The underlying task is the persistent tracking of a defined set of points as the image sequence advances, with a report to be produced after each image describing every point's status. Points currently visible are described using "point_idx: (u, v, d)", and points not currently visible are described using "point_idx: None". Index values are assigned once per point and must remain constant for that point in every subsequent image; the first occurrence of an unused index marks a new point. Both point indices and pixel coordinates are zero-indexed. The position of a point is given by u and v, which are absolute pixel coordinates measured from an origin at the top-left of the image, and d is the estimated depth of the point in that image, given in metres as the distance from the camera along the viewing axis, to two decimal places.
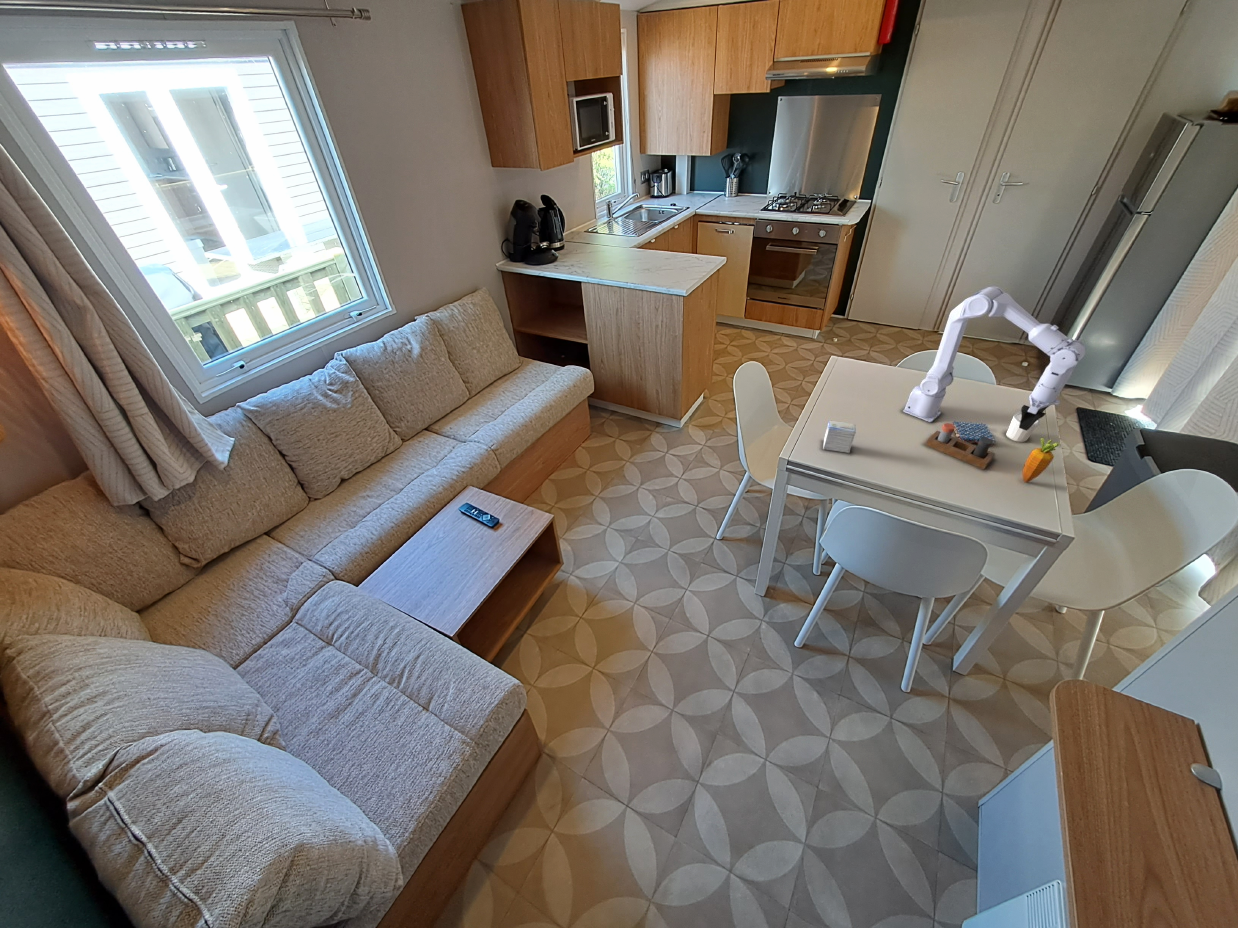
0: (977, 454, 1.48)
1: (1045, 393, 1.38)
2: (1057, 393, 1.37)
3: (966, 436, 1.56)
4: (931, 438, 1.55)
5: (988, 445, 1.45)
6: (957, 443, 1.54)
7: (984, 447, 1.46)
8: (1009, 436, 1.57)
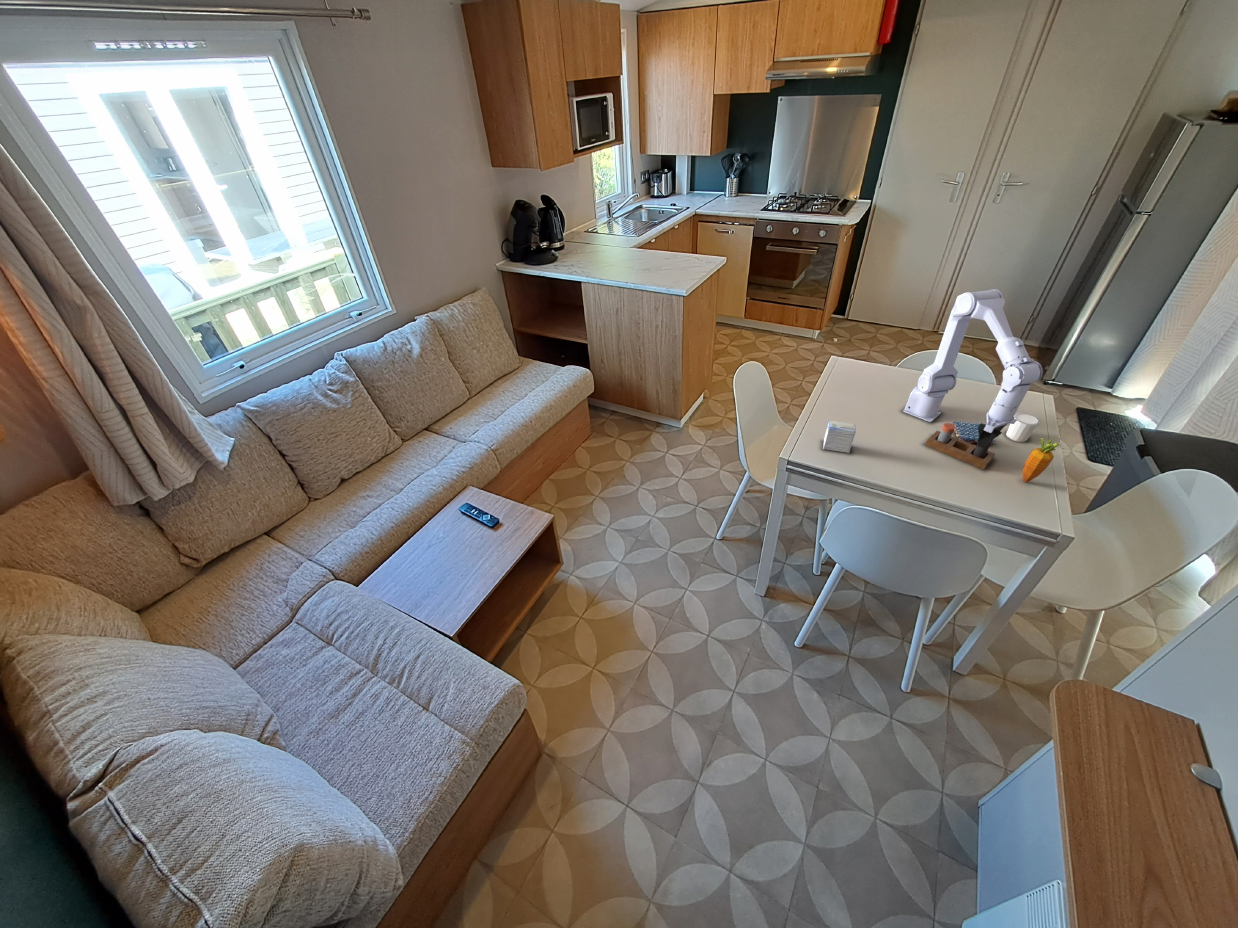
0: (977, 454, 1.48)
1: (1001, 412, 1.37)
2: (1013, 412, 1.36)
3: (966, 436, 1.56)
4: (931, 438, 1.55)
5: (988, 445, 1.45)
6: (957, 443, 1.54)
7: None
8: (1009, 436, 1.57)
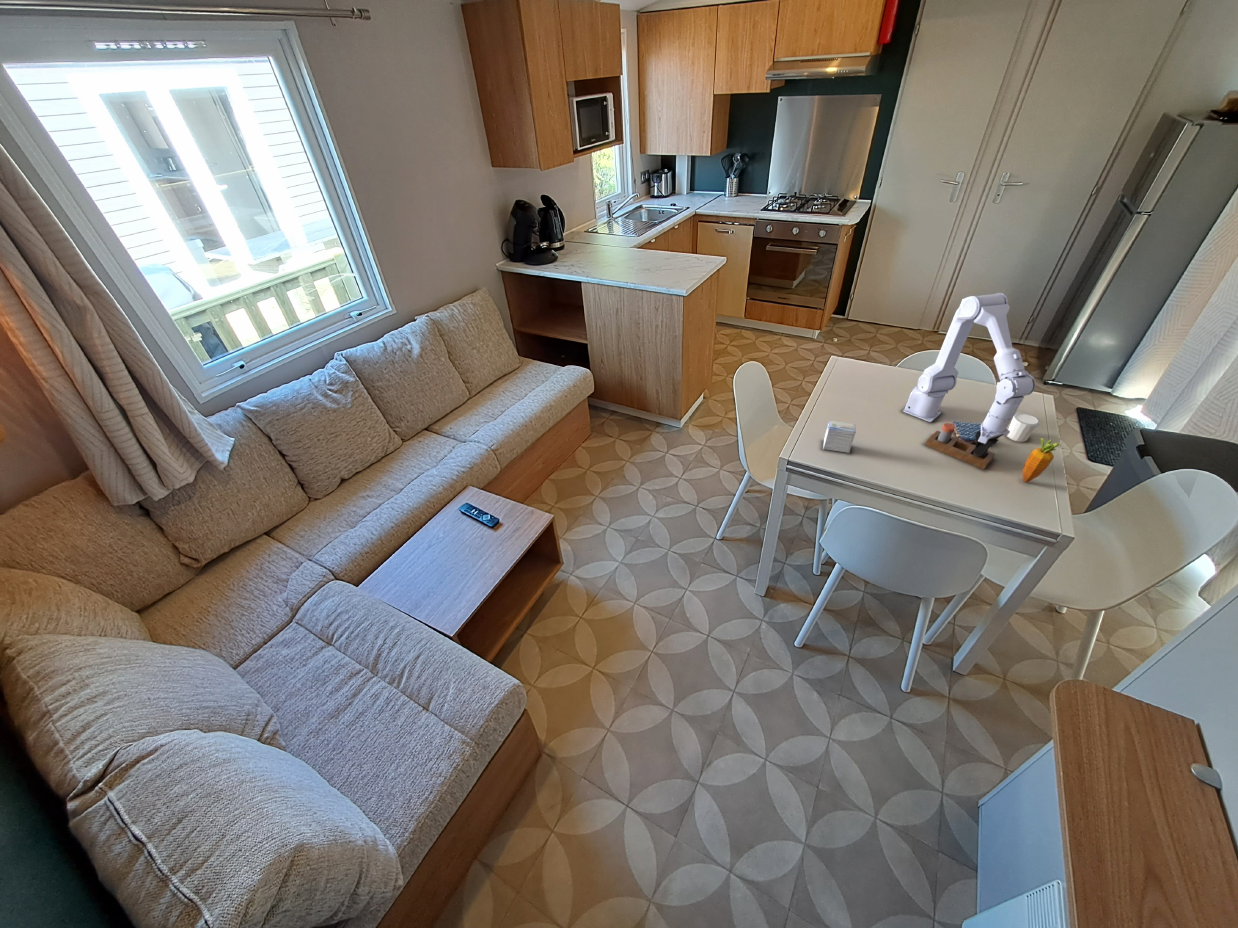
0: None
1: (995, 423, 1.39)
2: (1006, 423, 1.38)
3: (966, 436, 1.56)
4: (931, 438, 1.55)
5: None
6: (957, 443, 1.54)
7: None
8: (1009, 436, 1.57)
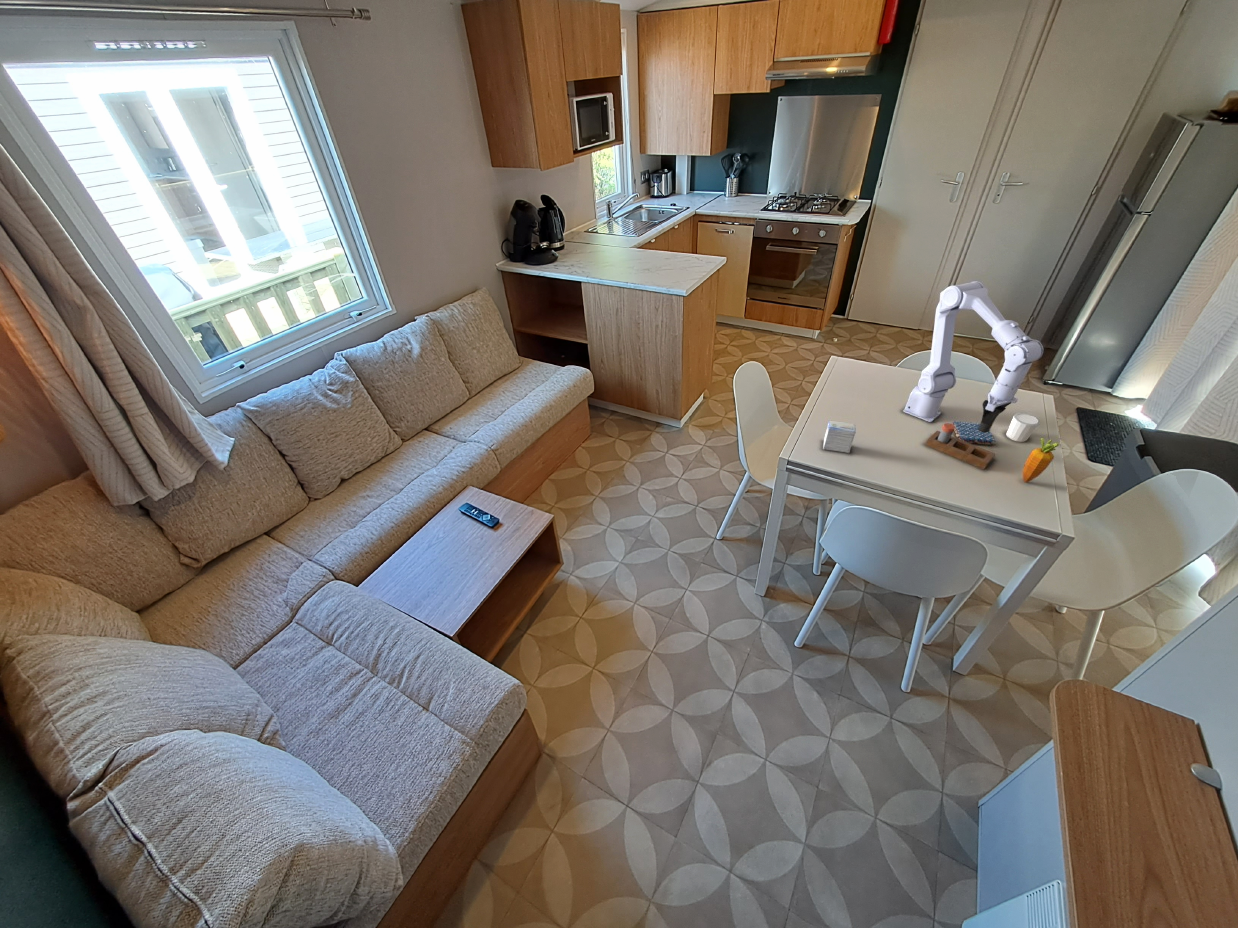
0: None
1: (1003, 391, 1.39)
2: (1014, 391, 1.38)
3: (966, 436, 1.56)
4: (931, 438, 1.55)
5: None
6: (957, 443, 1.54)
7: None
8: (1009, 436, 1.57)
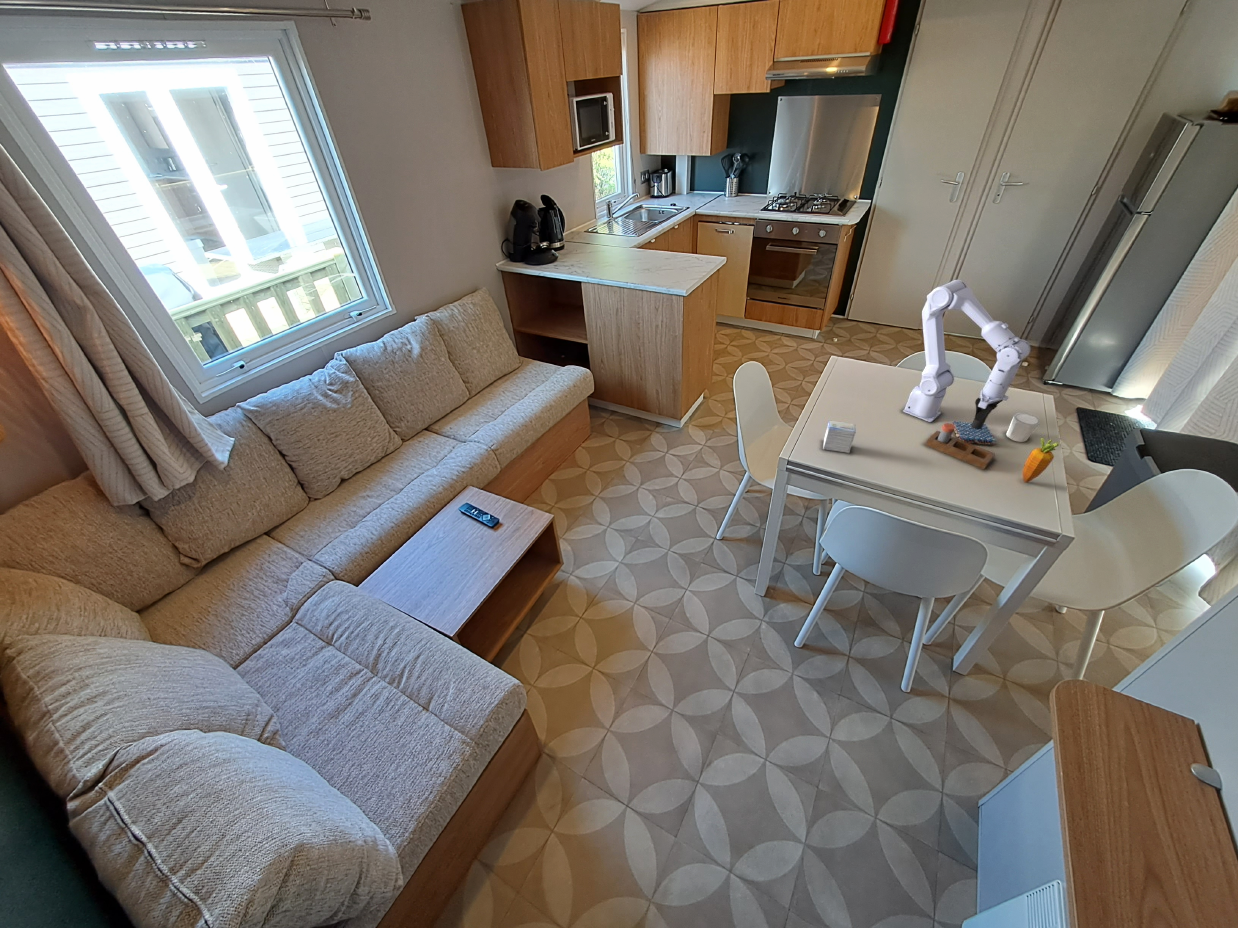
0: None
1: (994, 389, 1.46)
2: (1005, 389, 1.45)
3: (966, 436, 1.56)
4: (931, 438, 1.55)
5: None
6: (957, 443, 1.54)
7: None
8: (1009, 436, 1.57)
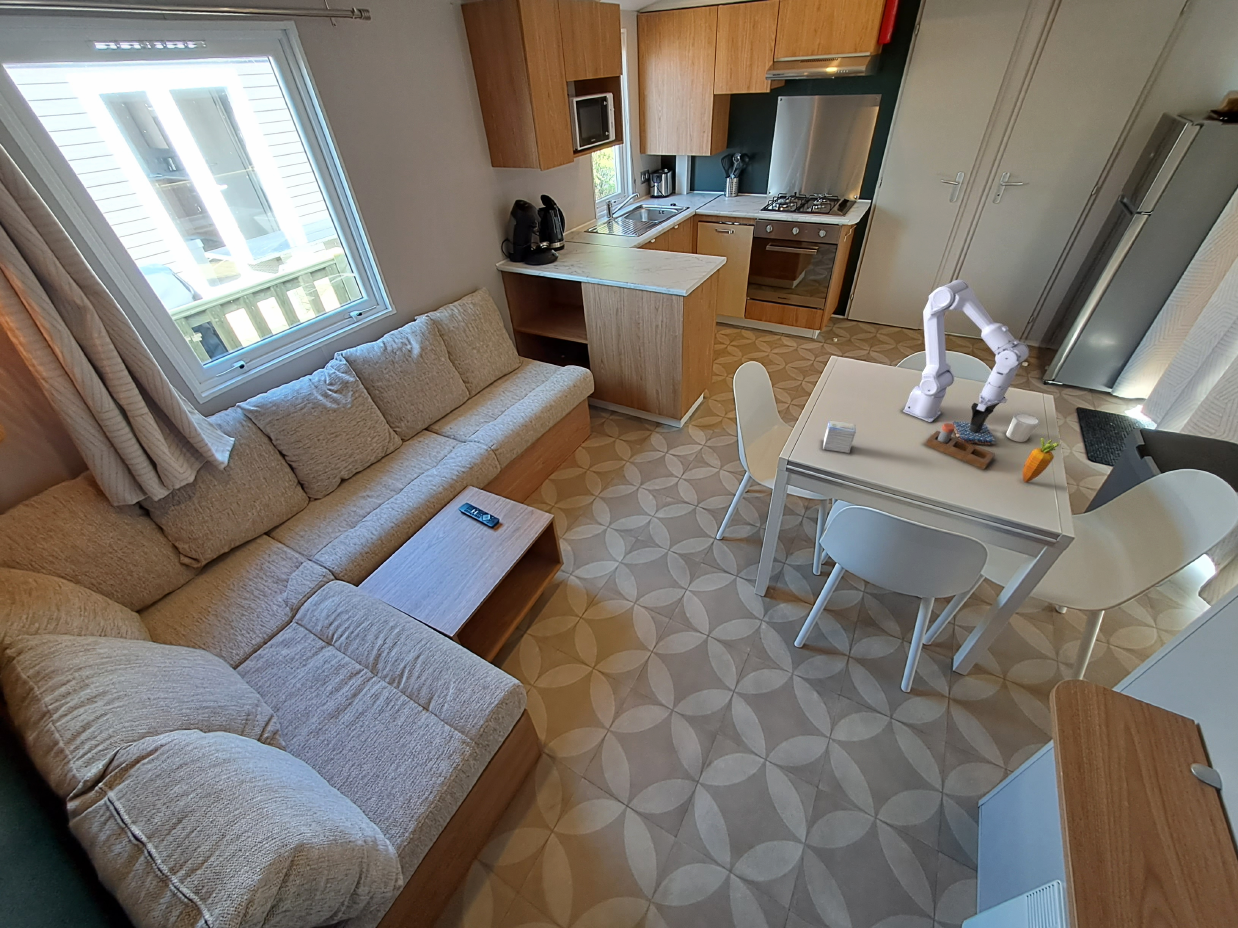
0: None
1: (993, 392, 1.47)
2: (1003, 391, 1.46)
3: (966, 436, 1.56)
4: (931, 438, 1.55)
5: None
6: (957, 443, 1.54)
7: None
8: (1009, 436, 1.57)
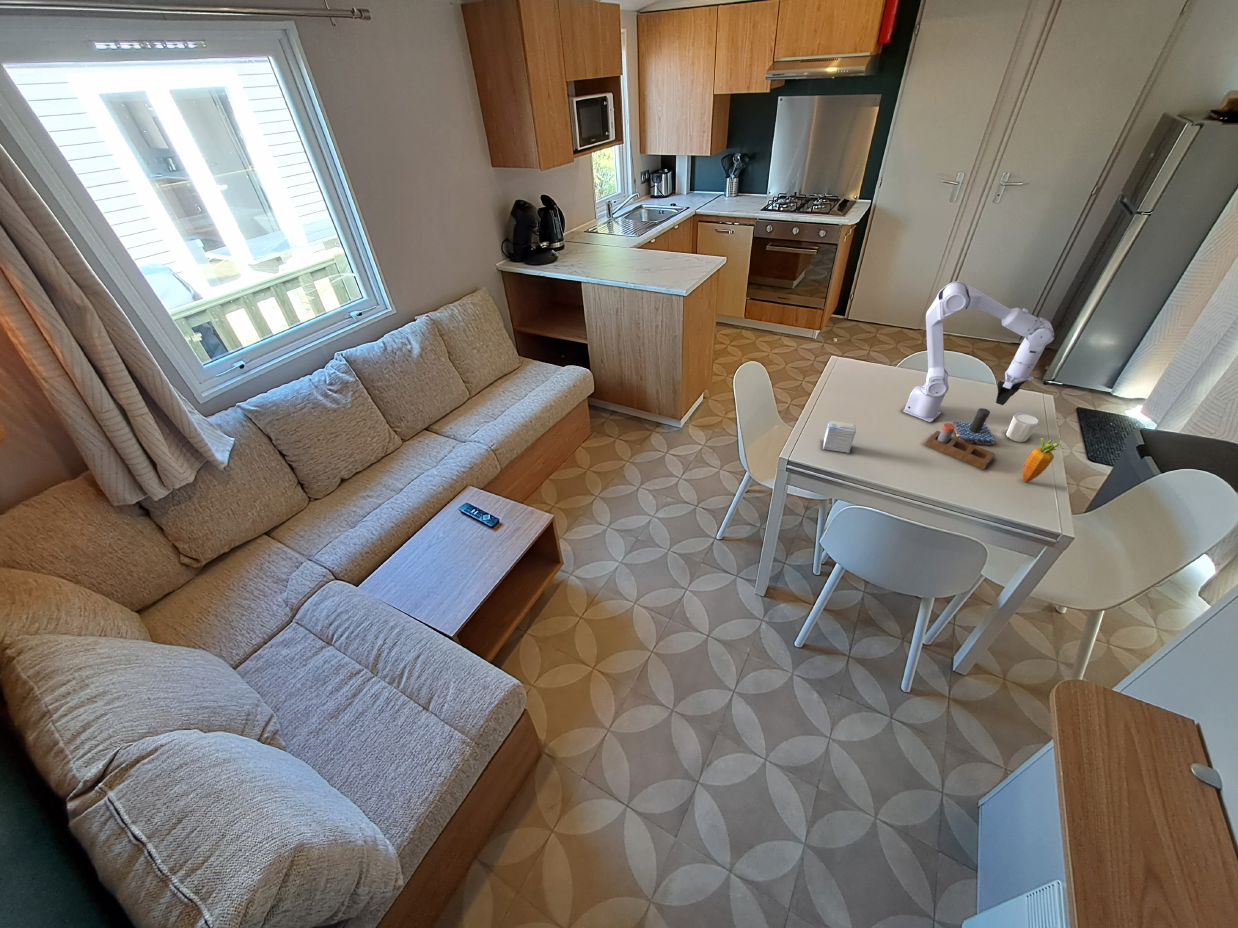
0: (976, 424, 1.56)
1: (1019, 369, 1.47)
2: (1030, 369, 1.46)
3: (966, 436, 1.56)
4: (931, 438, 1.55)
5: (986, 415, 1.53)
6: (957, 443, 1.54)
7: (982, 418, 1.53)
8: (1009, 436, 1.57)
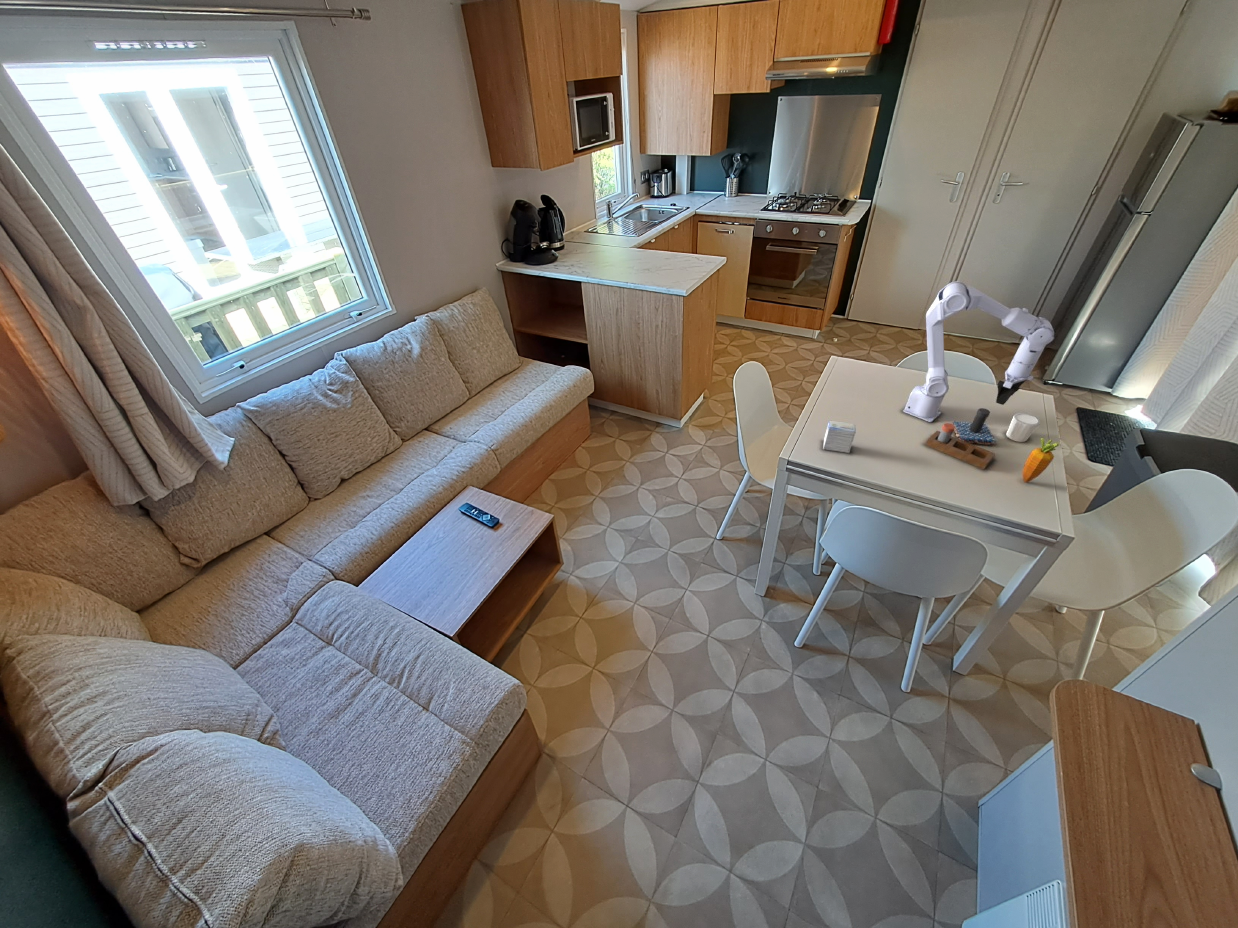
0: (976, 424, 1.56)
1: (1019, 369, 1.47)
2: (1030, 369, 1.47)
3: (966, 436, 1.56)
4: (931, 438, 1.55)
5: (986, 415, 1.53)
6: (957, 443, 1.54)
7: (982, 418, 1.53)
8: (1009, 436, 1.57)
